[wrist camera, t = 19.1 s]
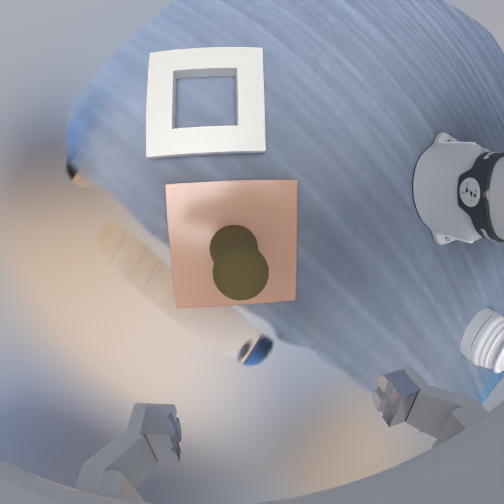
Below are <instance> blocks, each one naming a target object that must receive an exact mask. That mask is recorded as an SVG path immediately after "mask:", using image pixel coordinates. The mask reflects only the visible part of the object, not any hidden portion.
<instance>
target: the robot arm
mask: <svg viewBox="0 0 504 504" xmlns="http://www.w3.org/2000/svg"><path fill="white" fill-rule="evenodd" d="M447 141H448V142H447ZM413 193H414V200H415V205H416V208H417V211H418V213H419V215H420V217H421V219H422V220H423V222H424V223H425V224H426V225H427V226H428V227H429V229H430V230H431V232H432V235H433V238H434V240H435V242H436V244H439V245H444V244H447V243H449V242H452V241H455V240H460V241H463V242H467V243H473V242H474V241H477V240H479V239H480V238H482V237H485V238H487V239H489V240H492V241H498V242H504V153H500V152H489V150H488V149H485V148H481V145H479V144H476V143H475V142H459V141H458V140H456V139H455V138H453V137H451V136H450V135H448V134H446V133H441V132H440V133H438V134H437V136H436V138H435V141H434V143H433V144H432V146H430V147H429V148H428V149H427V150H426V151H425V152H424V153H423V154H422V155H421V157H420V159H419V161H418V163H417V166H416V169H415V173H414V180H413ZM377 384H378V385H379V386H378V388H377V389H376V390H375V392H374V395H373V400H374V404H375V407H376V408H377V410H378V411H381V412H383V416H382V417H383V419H384V420H385V421H386V423H387V424H388V426H389V427H391V426H393V425H396V424H399V423H402V422H405V421H406V423H408V424H410V425H412V426H414V427H416V428H417V429H419V430H421V431H423V432H425V433H427V434H429V435H431V436H433V437H435V438H437V439H436V441H435V442H434V444H433V445H432V448H431V449H430V450H428V451H426V452H424V453H422V454H420V455H418V456H416V457H414V458H412V459H410V460H408V461H406V462H403V463H401V464H399V465H397V466H394V467H392V468H389V469H387V470H385V471H382V472H380V473H377V474H374V475H372V476H369V477H366V478H364V479H360V480H357V481H354V482H351V483H348V484H345V485H342V486H338V487H335V488H331V489H327V490H324V491H320V492H316V493H311V494H307V495H302V496H297V497H292V498H287V499H281V500H275V501H268V502H260V503H252V504H504V401H503V402H502V403H500V404H499V405H498V406H497V407H495V408H494V409H493V410H492V411H490V412H489V413H488V412H487V411H486V410H485V409H484V408H483V407H482V406H481V405H480V404H479V403H478V402H477V401H476V400H475V399H474V398H471V397H468V396H464V395H461V394H458V393H455V392H451V391H448V390H445V389H442V388H439V387H435V386H429V385H428V384H427V383H426V382H425V381H424V380H423V379H422V378H421V377H420V375H419V374H418V373H417V372H416V371H415V370H414V369H413V368H411V367H407V368H404V369H401V370H398V371H395V372H391V373H388V374H385V375H382V376H380V377H379V378H378V382H377ZM176 413H177V411H176V407H175V405H172V404H150V403H148V404H146V403H135V405H134V406H133V410H132V414H131V418H130V421H129V425H128V429H127V433H122V434H121V435H119V436H118V437H117V438H116V439H114V440H113V441H112V442H111V443H109V444H108V445H107V446H106V447H104V448H103V449H102V450H101V451H99V452H98V453H97V454H95V455H94V456H93V457H92V458H90V459H89V460H87V461H86V462H85V463H83V465H82V468H81V472H80V475H79V479H78V482H77V485H76V489H74V488H71V487H67V486H64V485H61V484H58V483H55V482H52V481H49V480H46V479H43V478H41V477H38V476H36V475H33V474H30V473H28V472H26V471H24V470H21V469H19V468H16V467H14V466H12V465H10V464H8V463H6V462H4V461H0V504H152V503H145V502H144V501H143V499H142V498H141V497H140V496H139V495H138V493H137V492H136V491H135V490H136V489H137V487H138V486H139V485H140V484H141V483H142V481H143V480H144V479H145V478H146V477H147V475H148V474H149V473H150V472H151V471H152V470H153V469H154V468H155V466H156V465H157V464H158V462H180V451H181V449H180V446H179V442H180V441H181V425H180V421H179V418H177V417H176Z"/></svg>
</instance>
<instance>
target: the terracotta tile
mask: <svg viewBox="0 0 504 504" xmlns="http://www.w3.org/2000/svg"><path fill="white" fill-rule="evenodd" d="M166 204H167V219H168V233H169V244H170V255H171V265H172V274H173V283H174V291H175V299H176V306H177V308H193V307H213V306H229V305H244V304H258V303H270V302H281V301H292V300H296V268H297V180H235V181H211V182H193V183H178V184H166ZM228 225H240V226H244V227H245V228H247V229H249V230H250V231H251V232H252V233H253V235H254V236H255V237H256V240H257V243H258V251H260V253H261V254H262V255H263V256H264V258H265V259H266V261H267V264H268V267H269V277H268V280H267V284H266V286H265V287H264V289H263V290H262V292H260V293H259V294H258V295H257V296H255V297H253V298H251V299H248V300H240V301H238V300H233V299H230V298H228V297H226V296H225V295H223V294H222V293H221V292H220V291H219V290H218V288H217V287H216V285H215V283H214V280H213V266H214V262H213V260H212V257H211V255H210V243H211V239H212V238H213V236H214V235H215V233H216V232H217V231H218V230H220V229H221V228H223V227H225V226H228Z"/></svg>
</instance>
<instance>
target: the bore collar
mask: <svg viewBox="0 0 504 504" xmlns="http://www.w3.org/2000/svg"><path fill="white" fill-rule="evenodd" d="M219 76H235V83H236V126H207V127H190V128H177V129H176V79H183V78H197V77H219ZM265 151H266V144H265V108H264V79H263V53H262V48H254V47H210V48H192V49H180V50H170V51H161V52H154V53H150V58H149V70H148V86H147V112H146V157H147V158H150V159H158V158H169V157H182V156H196V155H216V154H255V153H263V152H265Z"/></svg>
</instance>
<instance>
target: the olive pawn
mask: <svg viewBox="0 0 504 504" xmlns="http://www.w3.org/2000/svg"><path fill="white" fill-rule="evenodd" d="M210 255H211V257H212V260H213V262H214V266H213V280H214V283H215V285H216V287H217V288H218V290H219V291H220V292H221V293H222V294H223V295H225V296H226V297H228V298H230V299H233V300H238V301H240V300H248V299H251V298H253V297H255V296H257V295H258V294H259V293H260V292H262V290H263V289H264V287H265V286H266V284H267V280H268V277H269V267H268V264H267V261H266V259H265V258H264V256H263V255H262V254H261V253H260V251H258V243H257V240H256V237H255V236H254V235H253V233H252V232H251V231H250V230H249V229H247V228H245V227H244V226H240V225H228V226H225V227H223V228H221V229H220V230H218V231H217V232H216V233H215V235H214V236H213V238H212V239H211V243H210Z"/></svg>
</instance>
